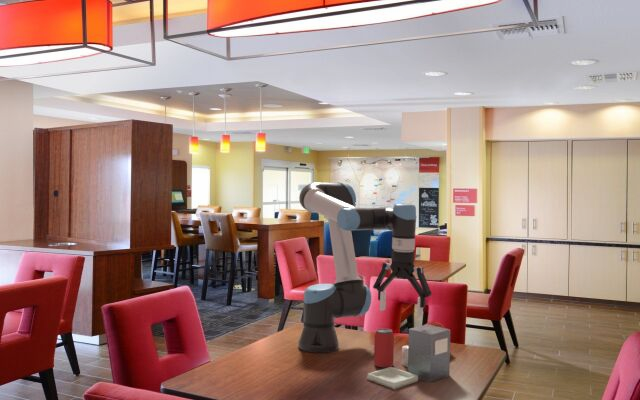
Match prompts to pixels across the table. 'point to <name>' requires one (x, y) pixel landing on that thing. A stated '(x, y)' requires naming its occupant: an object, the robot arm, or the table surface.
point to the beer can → (384, 348)
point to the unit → (429, 352)
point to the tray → (392, 377)
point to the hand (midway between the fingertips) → (400, 313)
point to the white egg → (405, 356)
